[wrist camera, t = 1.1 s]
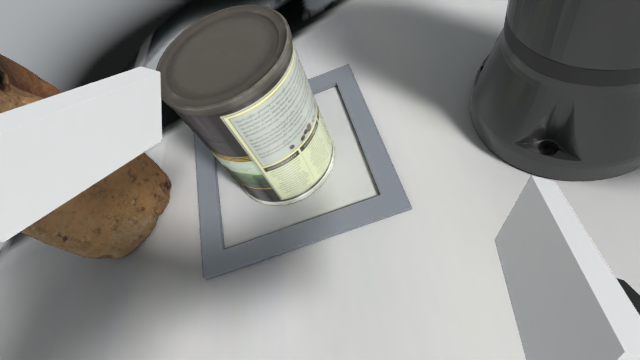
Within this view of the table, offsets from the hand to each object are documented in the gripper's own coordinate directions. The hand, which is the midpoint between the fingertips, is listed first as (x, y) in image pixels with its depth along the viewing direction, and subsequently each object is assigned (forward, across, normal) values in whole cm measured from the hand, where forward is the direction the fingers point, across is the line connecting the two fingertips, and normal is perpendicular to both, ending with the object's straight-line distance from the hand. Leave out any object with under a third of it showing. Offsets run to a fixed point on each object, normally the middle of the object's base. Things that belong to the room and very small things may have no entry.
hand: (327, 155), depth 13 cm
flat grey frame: (+21, -6, -12) cm, 25 cm away
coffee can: (+21, -6, -13) cm, 25 cm away
